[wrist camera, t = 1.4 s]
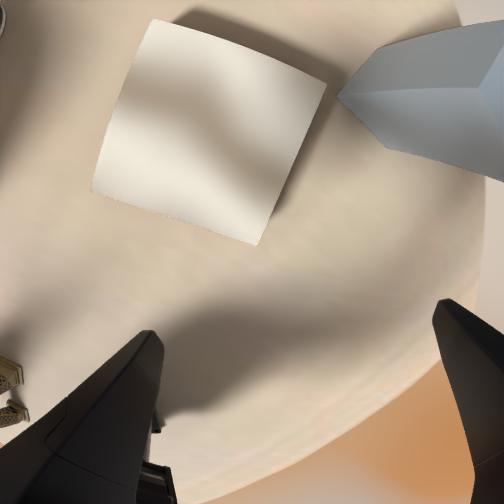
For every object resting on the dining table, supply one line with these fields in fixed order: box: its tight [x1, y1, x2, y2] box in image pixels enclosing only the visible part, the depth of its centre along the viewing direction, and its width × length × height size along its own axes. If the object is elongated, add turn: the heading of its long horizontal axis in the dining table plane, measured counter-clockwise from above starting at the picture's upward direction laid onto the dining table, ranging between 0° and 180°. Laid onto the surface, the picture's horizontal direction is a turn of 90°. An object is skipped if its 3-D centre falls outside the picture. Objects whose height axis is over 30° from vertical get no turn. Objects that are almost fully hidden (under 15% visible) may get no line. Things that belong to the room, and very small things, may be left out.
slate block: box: [336, 20, 504, 182], centre depth 12 cm, size 5×5×12 cm
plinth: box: [90, 19, 328, 246], centre depth 16 cm, size 10×10×2 cm
